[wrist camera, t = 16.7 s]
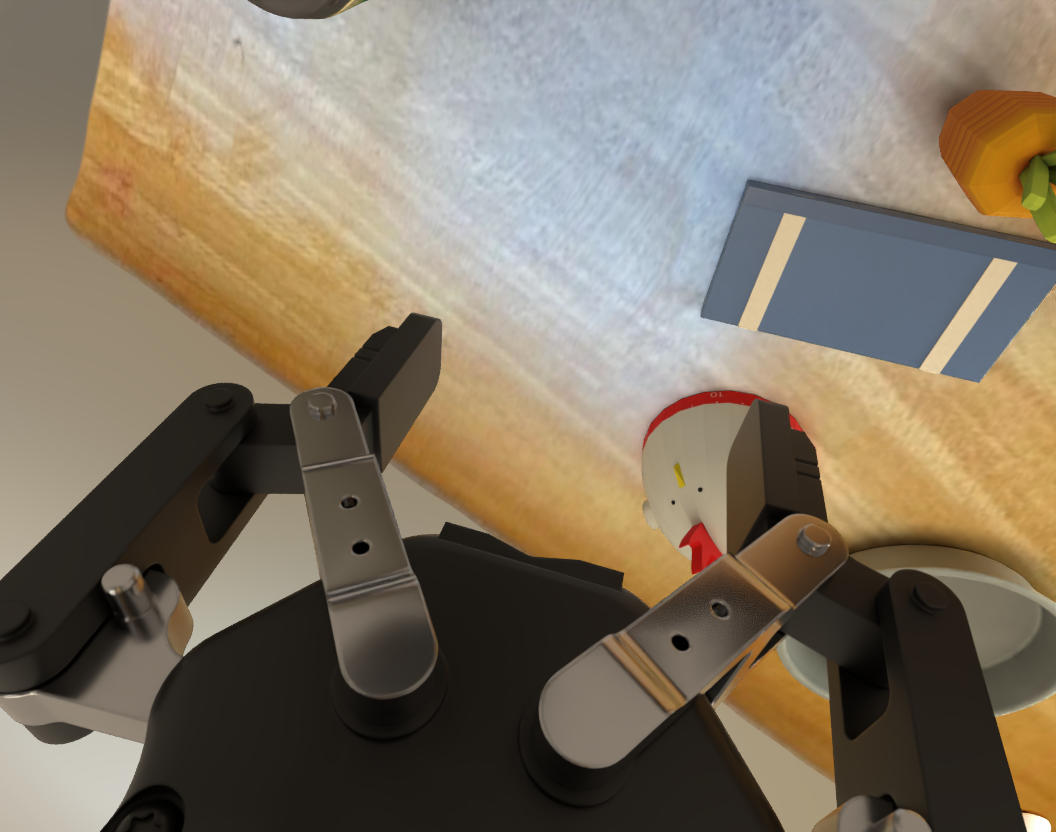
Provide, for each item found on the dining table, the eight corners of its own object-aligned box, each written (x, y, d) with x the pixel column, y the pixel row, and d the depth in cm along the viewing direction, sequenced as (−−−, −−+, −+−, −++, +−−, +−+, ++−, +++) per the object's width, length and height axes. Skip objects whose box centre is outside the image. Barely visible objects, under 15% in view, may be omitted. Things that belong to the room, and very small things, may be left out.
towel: (747, 179, 39) (748, 185, 38) (1073, 247, 37) (1082, 255, 36) (700, 312, 46) (700, 320, 45) (975, 377, 44) (981, 386, 43)
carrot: (958, 45, 33) (1082, 107, 21) (1037, 86, 33) (1202, 170, 22) (890, 134, 36) (966, 229, 25) (962, 171, 36) (1070, 283, 25)
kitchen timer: (742, 362, 47) (747, 498, 36) (842, 469, 51) (874, 622, 40) (612, 440, 56) (583, 571, 44) (706, 528, 60) (701, 668, 48)
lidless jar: (990, 814, 79) (1018, 829, 79) (998, 839, 76) (1027, 856, 77) (1028, 806, 75) (1058, 823, 76) (1037, 833, 73) (1067, 850, 74)
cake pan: (975, 490, 49) (994, 532, 46) (1114, 648, 56) (1139, 695, 53) (724, 584, 64) (724, 621, 61) (858, 700, 71) (864, 739, 67)
